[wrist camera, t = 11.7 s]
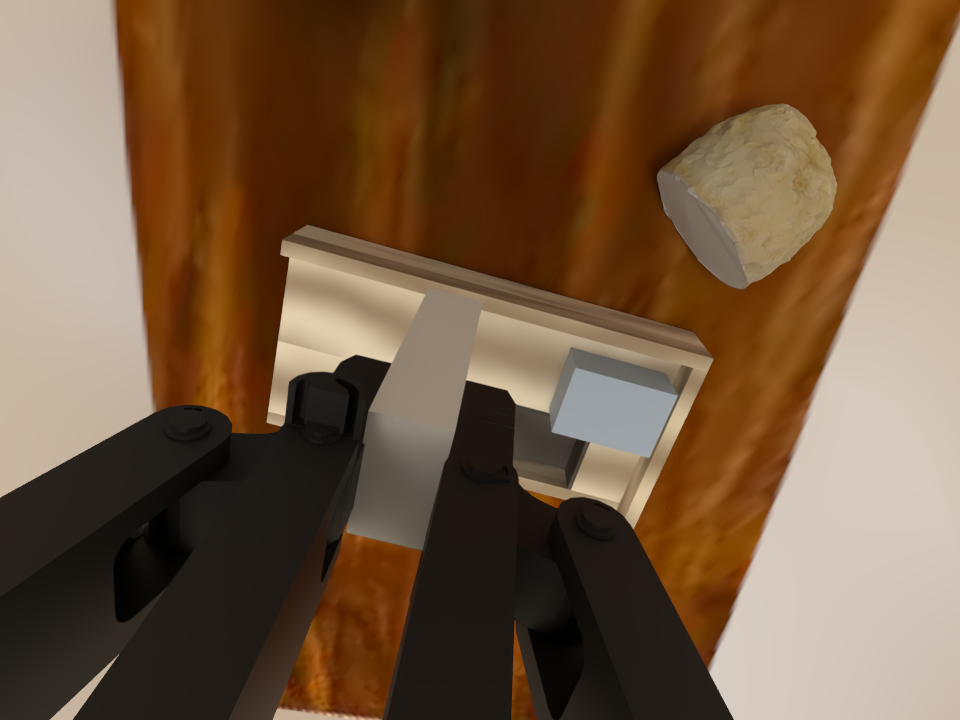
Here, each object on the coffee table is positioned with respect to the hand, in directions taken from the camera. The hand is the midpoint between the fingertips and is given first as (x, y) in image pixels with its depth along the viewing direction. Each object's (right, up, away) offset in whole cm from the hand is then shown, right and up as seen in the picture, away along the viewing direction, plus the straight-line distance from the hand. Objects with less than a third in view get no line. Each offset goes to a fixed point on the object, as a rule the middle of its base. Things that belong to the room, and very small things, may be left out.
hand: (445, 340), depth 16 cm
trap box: (+1, -1, +30) cm, 30 cm away
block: (+10, -3, +27) cm, 29 cm away
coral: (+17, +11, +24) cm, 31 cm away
